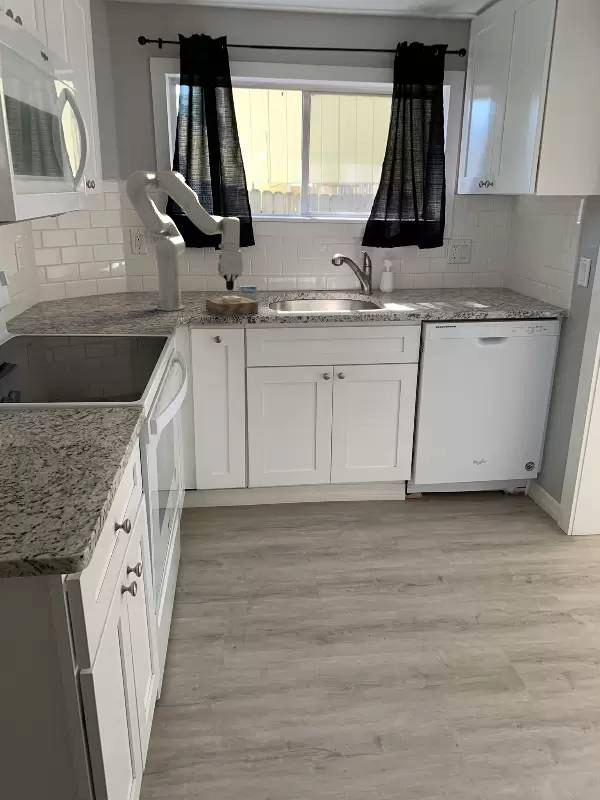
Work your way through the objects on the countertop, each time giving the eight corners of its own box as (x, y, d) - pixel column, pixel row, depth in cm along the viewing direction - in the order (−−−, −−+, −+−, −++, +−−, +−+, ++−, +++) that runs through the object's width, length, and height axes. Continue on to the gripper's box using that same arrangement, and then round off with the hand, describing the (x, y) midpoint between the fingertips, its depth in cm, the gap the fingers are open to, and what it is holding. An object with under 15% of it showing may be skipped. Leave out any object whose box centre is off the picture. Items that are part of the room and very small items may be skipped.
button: (228, 312, 269) (227, 298, 267) (222, 309, 274) (222, 296, 273) (241, 311, 272) (241, 297, 270) (235, 308, 278) (235, 295, 276)
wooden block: (220, 316, 263) (220, 304, 261) (206, 310, 276) (205, 299, 274) (258, 313, 271) (257, 301, 270) (242, 307, 284) (242, 296, 283)
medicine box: (240, 305, 290) (240, 286, 287) (238, 303, 294) (238, 285, 291) (256, 304, 292) (256, 286, 289) (254, 303, 296) (254, 285, 293)
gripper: (217, 248, 258) (217, 291, 264) (249, 248, 265) (248, 290, 271) (210, 246, 264) (210, 289, 270) (242, 246, 272) (241, 288, 277)
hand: (229, 289), depth 271 cm, fingers closed
